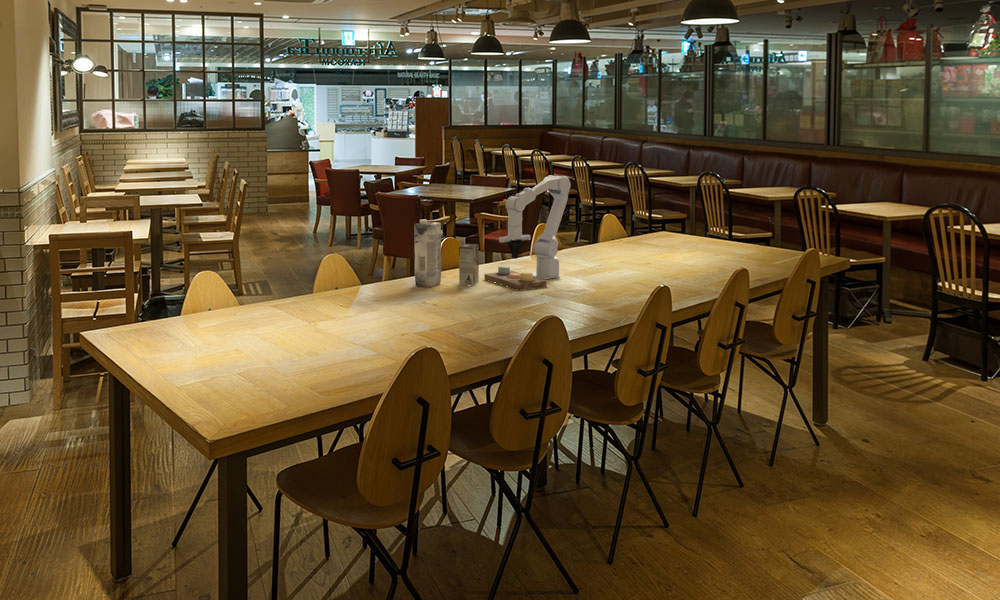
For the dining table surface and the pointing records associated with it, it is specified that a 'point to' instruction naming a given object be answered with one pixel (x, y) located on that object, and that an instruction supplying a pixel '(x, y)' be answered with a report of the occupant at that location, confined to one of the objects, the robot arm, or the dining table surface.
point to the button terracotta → (514, 276)
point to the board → (515, 281)
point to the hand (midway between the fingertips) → (514, 258)
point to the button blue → (503, 270)
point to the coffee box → (469, 264)
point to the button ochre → (526, 277)
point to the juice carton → (427, 253)
